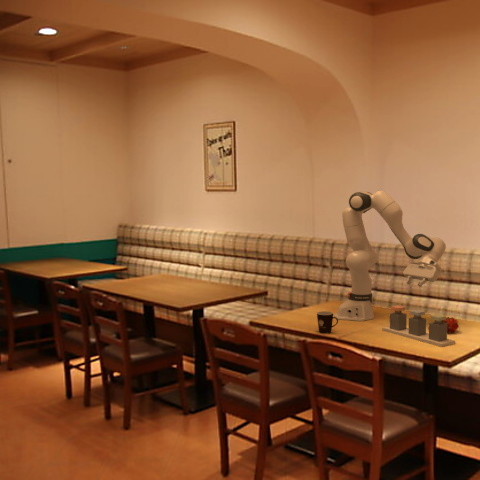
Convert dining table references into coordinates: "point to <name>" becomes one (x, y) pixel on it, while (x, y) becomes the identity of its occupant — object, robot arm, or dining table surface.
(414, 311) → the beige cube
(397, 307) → the terracotta button
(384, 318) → the dining table surface
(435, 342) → the button console
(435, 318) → the sage button
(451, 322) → the dragon fruit
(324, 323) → the coffee mug
